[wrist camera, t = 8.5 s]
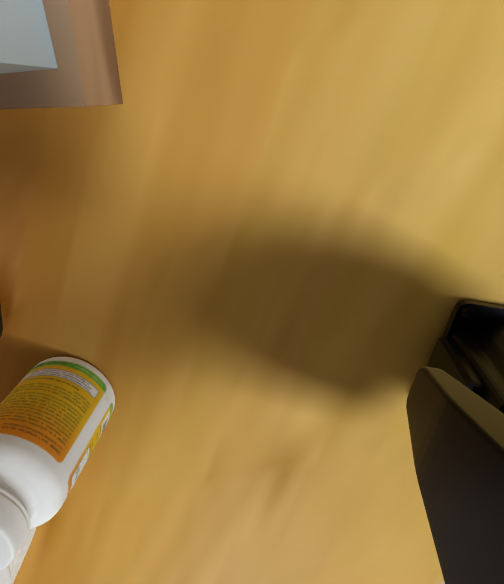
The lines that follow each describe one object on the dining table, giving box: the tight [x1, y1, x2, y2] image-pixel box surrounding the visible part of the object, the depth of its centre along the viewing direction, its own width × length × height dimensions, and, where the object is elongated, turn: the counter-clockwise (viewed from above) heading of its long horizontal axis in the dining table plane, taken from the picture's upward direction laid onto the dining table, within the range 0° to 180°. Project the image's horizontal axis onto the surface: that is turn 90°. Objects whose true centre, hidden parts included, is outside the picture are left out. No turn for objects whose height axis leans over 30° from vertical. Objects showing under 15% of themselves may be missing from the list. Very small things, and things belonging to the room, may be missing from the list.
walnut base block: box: [0, 0, 123, 109], centre depth 16 cm, size 6×6×4 cm
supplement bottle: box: [0, 357, 115, 570], centre depth 22 cm, size 5×5×10 cm
